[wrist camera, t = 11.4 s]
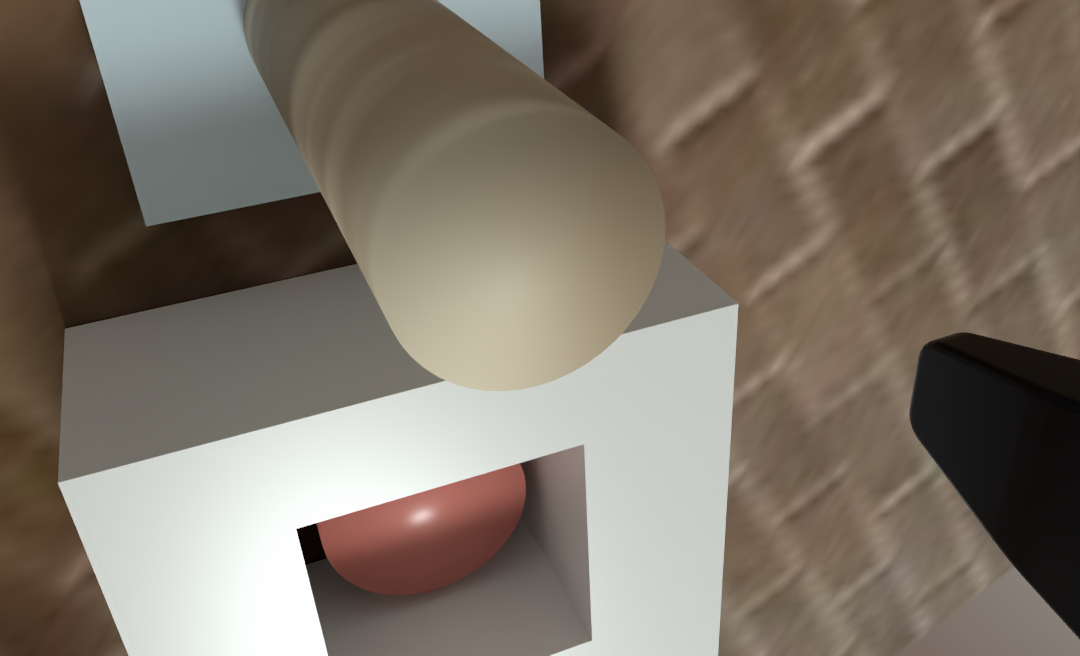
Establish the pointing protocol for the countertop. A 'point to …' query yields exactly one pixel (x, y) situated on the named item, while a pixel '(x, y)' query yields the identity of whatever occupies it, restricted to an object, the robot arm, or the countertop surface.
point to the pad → (225, 99)
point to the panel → (396, 476)
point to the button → (426, 534)
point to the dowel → (463, 186)
